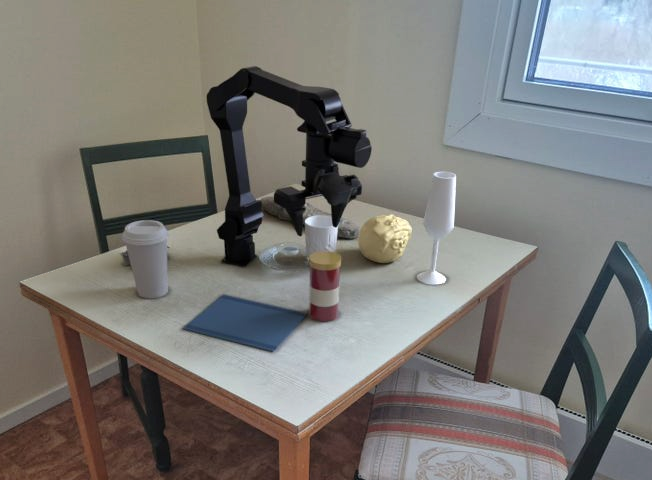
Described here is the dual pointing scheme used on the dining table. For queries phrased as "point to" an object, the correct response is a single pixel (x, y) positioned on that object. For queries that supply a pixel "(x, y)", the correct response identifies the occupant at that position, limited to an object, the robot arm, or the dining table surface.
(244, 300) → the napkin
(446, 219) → the champagne flute
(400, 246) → the sculpture
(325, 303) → the jam jar
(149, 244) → the coffee cup
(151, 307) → the dining table surface
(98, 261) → the dining table surface
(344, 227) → the elongated rock
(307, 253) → the white cup
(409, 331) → the dining table surface
